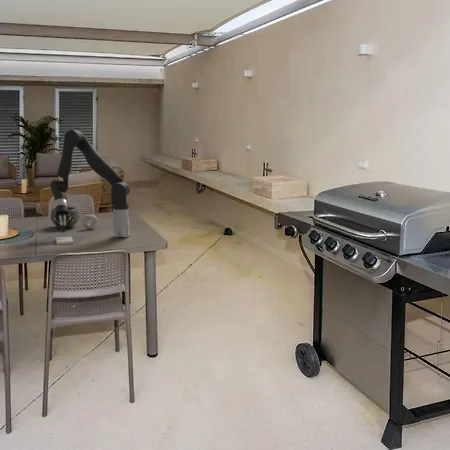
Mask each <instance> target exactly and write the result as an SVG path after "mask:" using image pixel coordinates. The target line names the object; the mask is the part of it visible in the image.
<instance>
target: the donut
mask: <svg viewBox="0 0 450 450" xmlns="http://www.w3.org/2000/svg"><path fill="white" fill-rule="evenodd" d="M89 220H91V221H92V223H91V224H90V223H88V221H89ZM98 223H99V221H98V218H97V216H95V215H94V214H89V213H88V214H86V215H84V216H83V218H82V220H81V224H82V226H83V227H84V228H85V229H86V230H93V229H95V228H96V227H97V226H98Z"/></svg>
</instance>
